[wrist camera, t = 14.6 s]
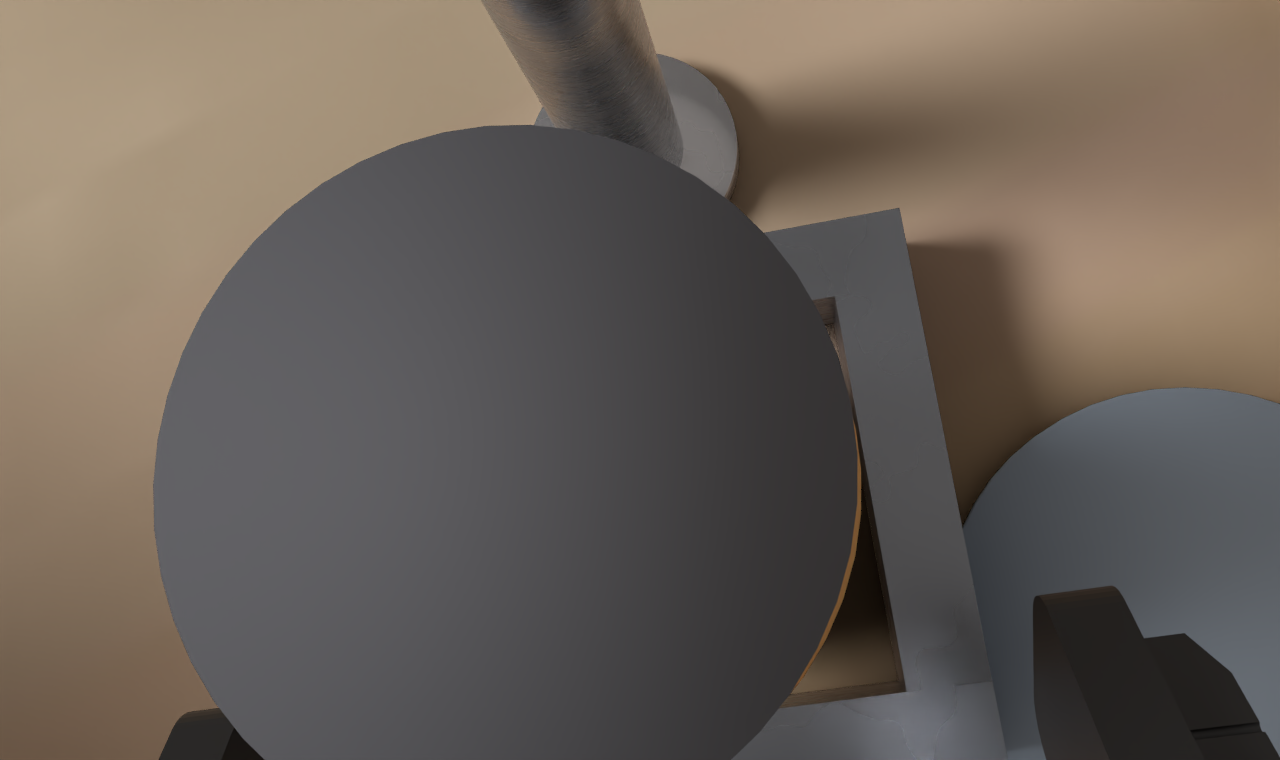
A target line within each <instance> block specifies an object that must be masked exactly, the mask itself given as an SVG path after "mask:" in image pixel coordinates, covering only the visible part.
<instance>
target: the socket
mask: <svg viewBox="0 0 1280 760" xmlns="http://www.w3.org/2000/svg"><path fill="white" fill-rule="evenodd" d="M764 234H765V235H766V236H767V237H768V238H769V239H770V241H771V242H772V243H773V244H774V246H775V247H776V248H777V250H778V251H779V252H780V253H781V255H782V256H783V257H784V258H785V260H786V261H787V262H788V264H789V265H790V266H791V267H792V269H793V270H794V271H795V272H796V274H797V276H798V277H799V279H800V281H801V282H802V284H803V286H804V287H805V289H806V291H807V293H808V294H809V296H810V298H811V299H812V301H813V303H814V304H815V306H816V308H817V310H818V311H819V313H820V315H821V317H822V320H823V322H824V325H826V324H832V323H834V329H835V335H836V340H837V346H838V351H839V357H840V362H841V368H842V373H843V376H844V380H845V384H846V388H847V391H848V395H849V399H850V402H851V408H852V415H853V420H854V424H855V428H856V435H857V443H858V450H859V458H860V465H861V479H862V484H863V490H864V495H865V501H866V506H867V512H868V517H869V523H870V528H871V534H872V540H873V545H874V551H875V556H876V562H877V567H878V573H879V578H880V584H881V589H882V595H883V600H884V606H885V612H886V617H887V623H888V628H889V634H890V639H891V645H892V650H893V656H894V661H895V667H896V673H897V678H898V681H891V682H883V683H875V684H868V685H860V686H852V687H845V688H837V689H829V690H822V691H814V692H806V693H799V694H791V695H789V696H788V697H787V698H786V700H785V701H784V702H783V704H782V705H781V706H780V707H779V709H778V710H777V711H776V712H775V714H774V715H773V716H772V717H771V719H770V720H769V721H768V722H767V724H766V725H765V726H764V727H763V729H762V730H761V731H760V732H759V733H758V734H757V735H756V736H755V737H754V738H753V739H752V740H751V741H750V742H749V743H748V744H747V745H746V746H745V747H744V748H743V749H742V750H741V751H740V752H739V753H738V754H737V755H736V756H734V757H733V758H732V759H731V760H1008V757H1007V752H1006V747H1005V742H1004V737H1003V732H1002V727H1001V722H1000V716H999V711H998V706H997V701H996V696H995V691H994V686H993V681H992V676H991V671H990V666H989V661H988V656H987V650H986V645H985V640H984V635H983V630H982V625H981V620H980V615H979V610H978V605H977V600H976V595H975V589H974V584H973V579H972V574H971V569H970V564H969V559H968V554H967V549H966V544H965V539H964V534H963V529H962V523H961V518H960V513H959V508H958V503H957V498H956V493H955V488H954V483H953V478H952V473H951V468H950V463H949V457H948V452H947V447H946V442H945V437H944V432H943V427H942V422H941V417H940V412H939V407H938V402H937V397H936V391H935V386H934V381H933V376H932V371H931V366H930V361H929V356H928V351H927V346H926V341H925V336H924V331H923V325H922V320H921V315H920V310H919V305H918V300H917V295H916V290H915V285H914V280H913V275H912V270H911V264H910V259H909V254H908V249H907V244H906V239H905V234H904V229H903V224H902V219H901V214H900V209H899V208H896V209H891V210H885V211H880V212H874V213H869V214H864V215H858V216H853V217H847V218H842V219H837V220H831V221H826V222H820V223H815V224H810V225H804V226H799V227H793V228H788V229H782V230H777V231H772V232H766V233H764Z"/></svg>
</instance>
